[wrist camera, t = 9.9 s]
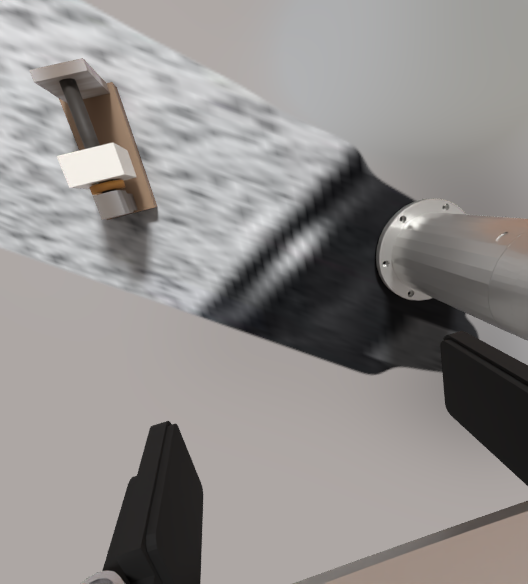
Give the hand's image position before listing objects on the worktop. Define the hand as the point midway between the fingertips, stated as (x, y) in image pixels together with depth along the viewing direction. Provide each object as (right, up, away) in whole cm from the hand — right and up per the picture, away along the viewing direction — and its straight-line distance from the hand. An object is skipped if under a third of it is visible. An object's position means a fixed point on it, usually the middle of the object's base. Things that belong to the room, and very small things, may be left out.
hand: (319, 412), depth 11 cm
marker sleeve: (-16, +15, +19) cm, 29 cm away
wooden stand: (-17, +18, +22) cm, 33 cm away
